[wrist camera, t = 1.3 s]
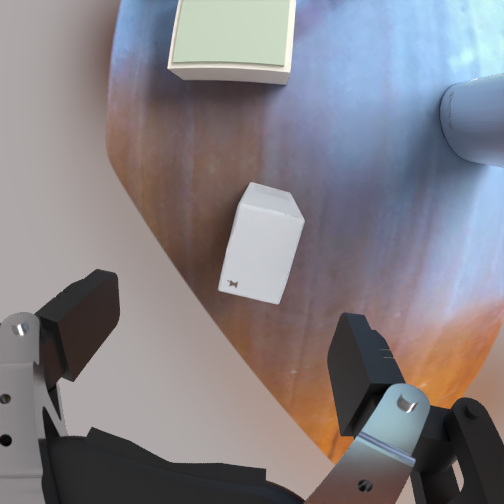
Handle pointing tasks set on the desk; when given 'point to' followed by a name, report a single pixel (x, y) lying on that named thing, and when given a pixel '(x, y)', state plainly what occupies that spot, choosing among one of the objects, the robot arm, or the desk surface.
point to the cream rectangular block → (233, 40)
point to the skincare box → (261, 244)
